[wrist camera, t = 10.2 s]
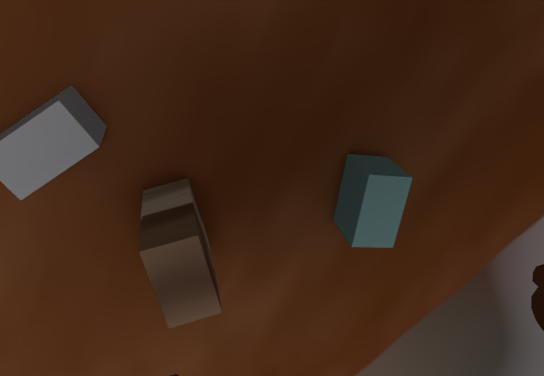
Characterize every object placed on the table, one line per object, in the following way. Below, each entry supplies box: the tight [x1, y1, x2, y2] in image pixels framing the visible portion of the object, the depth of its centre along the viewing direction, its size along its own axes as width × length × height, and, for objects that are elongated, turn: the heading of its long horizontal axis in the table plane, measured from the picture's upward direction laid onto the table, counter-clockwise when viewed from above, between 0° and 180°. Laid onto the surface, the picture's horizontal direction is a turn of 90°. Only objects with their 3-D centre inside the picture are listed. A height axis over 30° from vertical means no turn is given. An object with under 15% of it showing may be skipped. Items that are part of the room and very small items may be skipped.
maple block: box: [141, 178, 213, 265], centre depth 35 cm, size 6×4×4 cm, turn 12°
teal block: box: [333, 154, 413, 248], centre depth 37 cm, size 6×4×4 cm, turn 172°
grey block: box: [0, 85, 107, 200], centre depth 30 cm, size 6×4×4 cm, turn 122°
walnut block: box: [139, 202, 222, 329], centre depth 31 cm, size 6×4×4 cm, turn 11°
